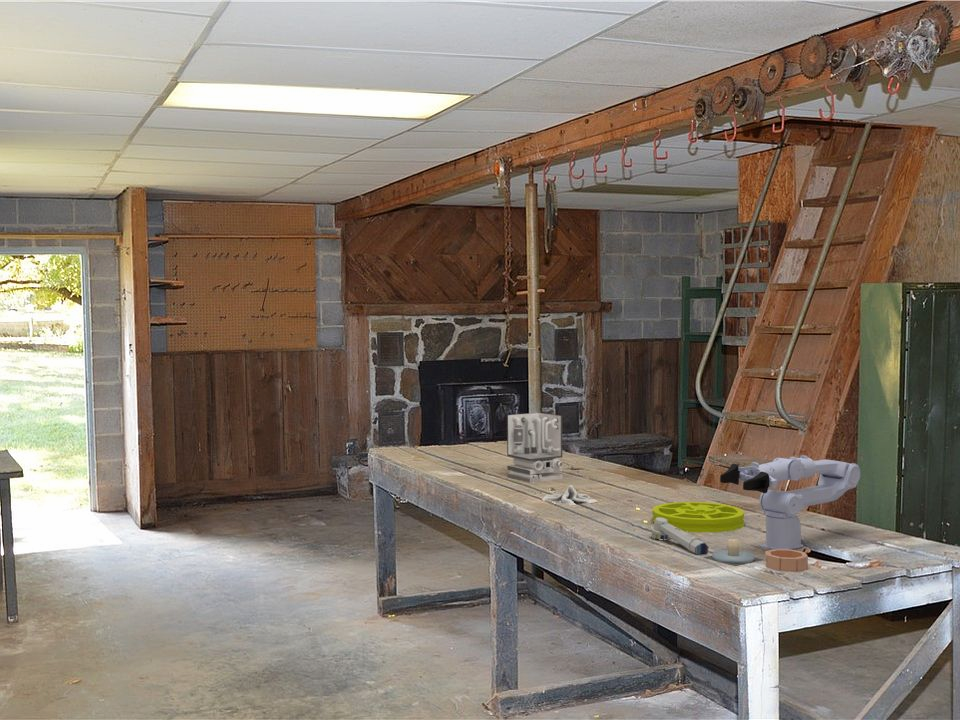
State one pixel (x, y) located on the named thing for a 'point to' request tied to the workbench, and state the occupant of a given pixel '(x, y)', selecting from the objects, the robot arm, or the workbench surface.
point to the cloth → (569, 497)
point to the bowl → (786, 560)
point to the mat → (733, 564)
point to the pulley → (700, 516)
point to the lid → (733, 554)
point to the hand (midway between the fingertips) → (732, 482)
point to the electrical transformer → (534, 446)
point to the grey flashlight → (677, 536)
